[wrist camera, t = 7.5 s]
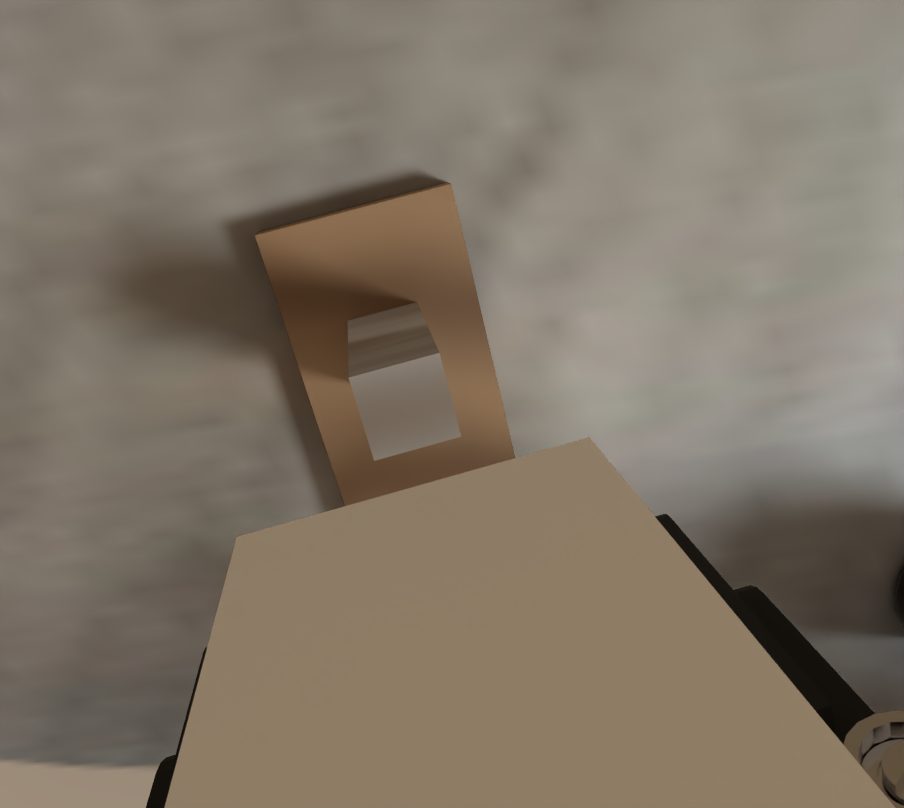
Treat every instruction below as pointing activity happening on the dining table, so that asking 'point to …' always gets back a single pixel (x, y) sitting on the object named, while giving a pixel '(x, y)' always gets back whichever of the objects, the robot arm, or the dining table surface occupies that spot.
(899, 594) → the supplement bottle
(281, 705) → the cream rectangular block
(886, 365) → the dining table surface
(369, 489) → the post strip
